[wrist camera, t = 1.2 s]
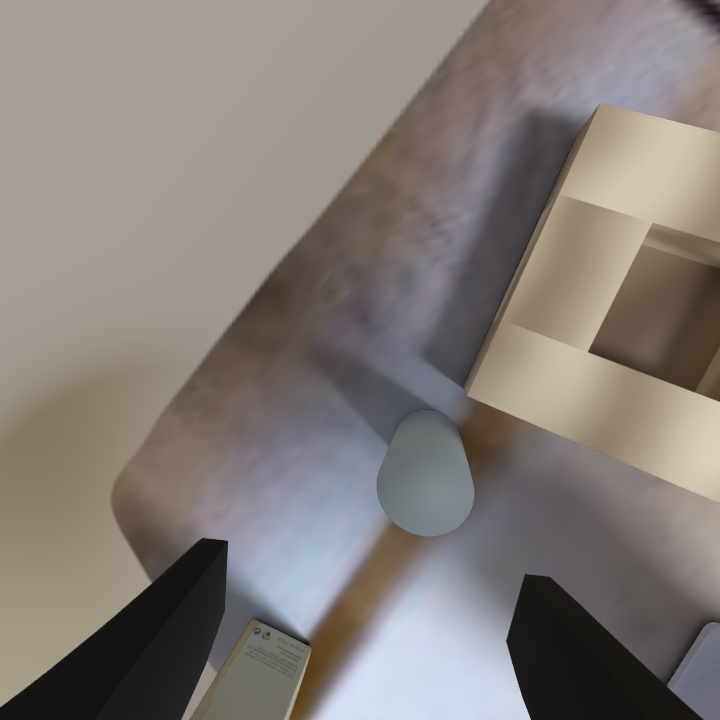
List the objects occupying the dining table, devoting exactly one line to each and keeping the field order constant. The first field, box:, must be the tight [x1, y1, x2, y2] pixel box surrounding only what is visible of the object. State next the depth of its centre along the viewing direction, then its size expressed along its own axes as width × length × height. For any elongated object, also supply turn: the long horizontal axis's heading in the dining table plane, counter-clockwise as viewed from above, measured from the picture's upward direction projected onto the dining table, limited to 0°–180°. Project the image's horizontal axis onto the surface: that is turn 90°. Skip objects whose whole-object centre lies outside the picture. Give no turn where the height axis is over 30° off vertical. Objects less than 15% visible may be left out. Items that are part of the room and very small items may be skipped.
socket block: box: [462, 103, 720, 503], centre depth 15 cm, size 13×13×3 cm
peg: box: [377, 410, 475, 537], centre depth 16 cm, size 4×4×6 cm
